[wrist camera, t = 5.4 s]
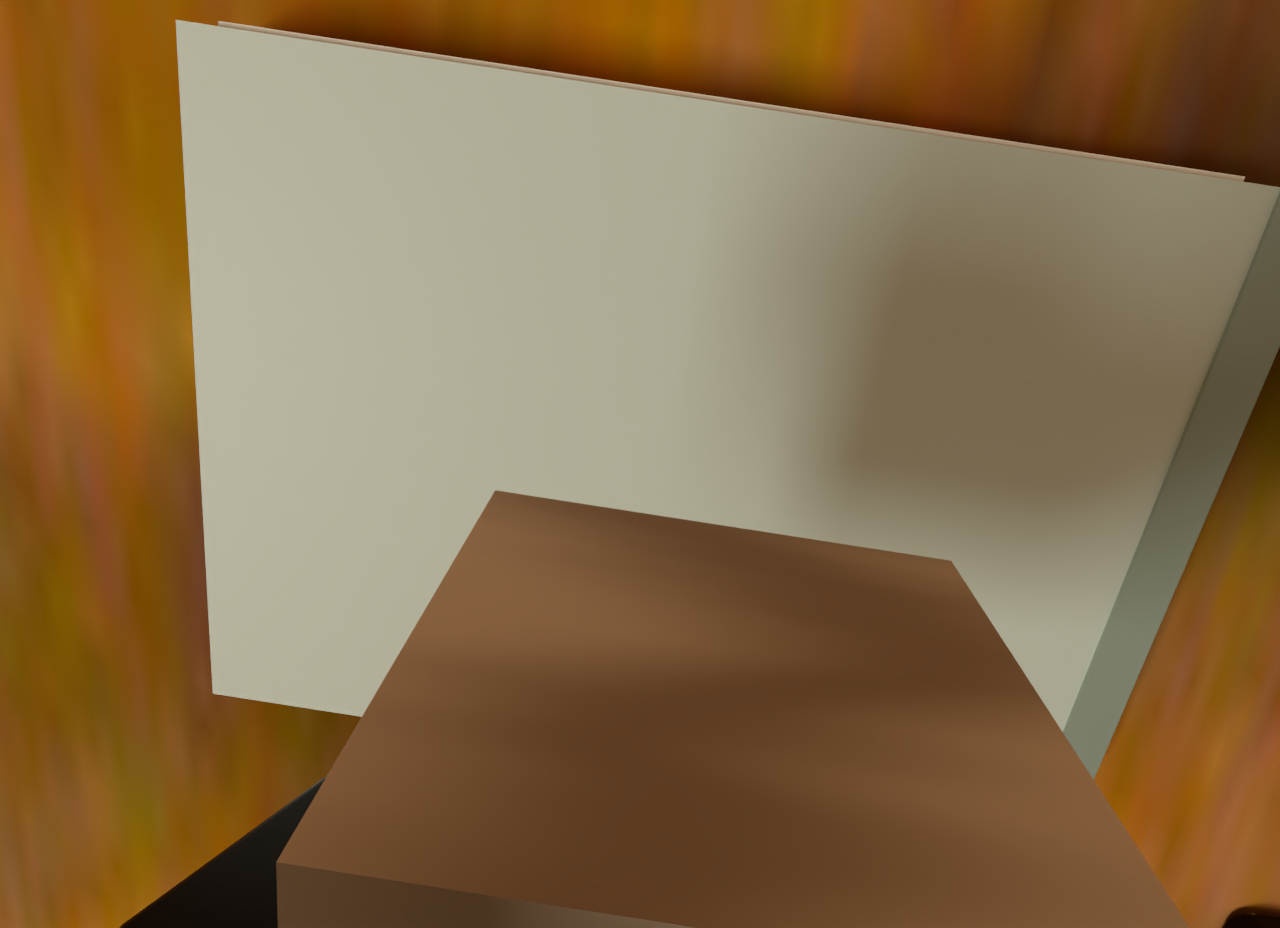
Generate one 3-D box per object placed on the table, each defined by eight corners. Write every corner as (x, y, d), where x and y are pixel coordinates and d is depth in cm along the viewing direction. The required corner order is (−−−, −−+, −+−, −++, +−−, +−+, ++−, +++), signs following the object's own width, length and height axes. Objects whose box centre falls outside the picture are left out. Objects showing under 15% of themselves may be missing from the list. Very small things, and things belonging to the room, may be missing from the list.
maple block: (951, 561, 9) (1247, 1012, 4) (844, 899, 11) (966, 1486, 6) (495, 490, 9) (275, 863, 4) (465, 840, 11) (287, 1375, 6)
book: (1248, 185, 16) (1346, 190, 14) (1028, 753, 21) (1072, 830, 19) (249, 34, 16) (172, 12, 14) (265, 634, 21) (210, 696, 19)
